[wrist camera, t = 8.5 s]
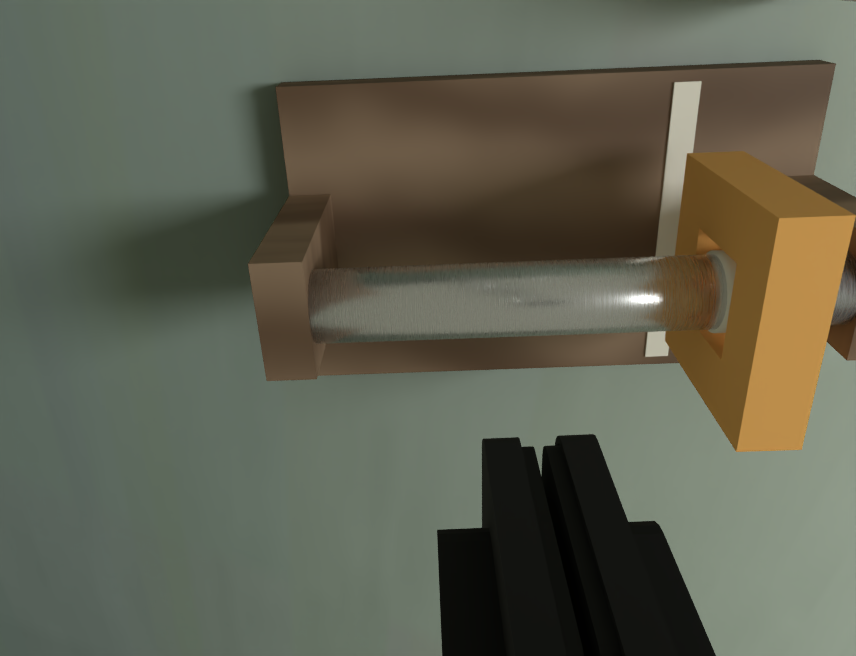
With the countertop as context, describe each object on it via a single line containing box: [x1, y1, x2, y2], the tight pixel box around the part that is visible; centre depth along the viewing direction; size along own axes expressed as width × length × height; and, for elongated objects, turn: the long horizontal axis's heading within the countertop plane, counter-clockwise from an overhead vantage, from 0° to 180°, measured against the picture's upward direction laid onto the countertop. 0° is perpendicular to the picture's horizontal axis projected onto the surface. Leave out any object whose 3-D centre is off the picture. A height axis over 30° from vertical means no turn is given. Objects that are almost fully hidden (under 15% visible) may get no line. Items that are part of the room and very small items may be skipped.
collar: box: [665, 151, 856, 452], centre depth 29 cm, size 9×2×9 cm, turn 2°
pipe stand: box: [248, 60, 856, 381], centre depth 32 cm, size 15×25×11 cm, turn 92°
